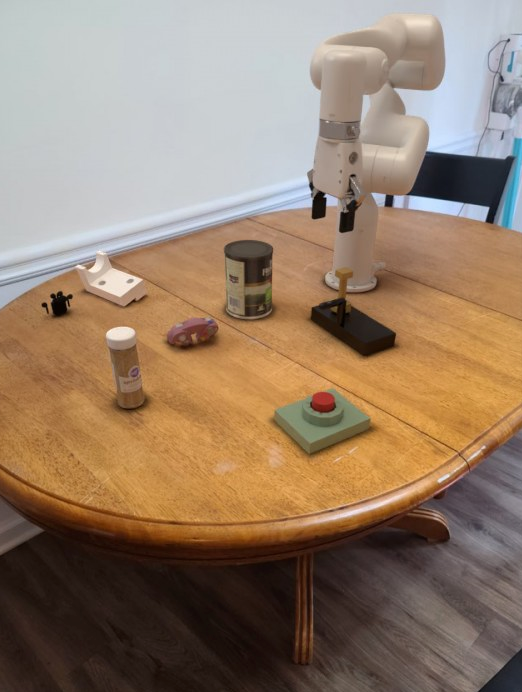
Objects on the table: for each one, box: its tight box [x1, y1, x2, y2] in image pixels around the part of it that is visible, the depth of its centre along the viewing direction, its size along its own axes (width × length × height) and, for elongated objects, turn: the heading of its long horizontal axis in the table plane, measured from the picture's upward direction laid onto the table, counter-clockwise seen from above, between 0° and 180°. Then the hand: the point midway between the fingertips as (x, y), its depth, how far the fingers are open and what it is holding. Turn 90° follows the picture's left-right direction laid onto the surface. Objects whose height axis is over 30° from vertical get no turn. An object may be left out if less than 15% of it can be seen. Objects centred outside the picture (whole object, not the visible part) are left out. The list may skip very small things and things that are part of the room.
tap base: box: [310, 297, 397, 357], centre depth 115 cm, size 13×18×9 cm
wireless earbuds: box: [41, 290, 74, 316], centre depth 120 cm, size 7×2×5 cm, turn 136°
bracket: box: [75, 250, 149, 307], centre depth 128 cm, size 13×7×8 cm, turn 54°
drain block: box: [273, 388, 372, 455], centre depth 91 cm, size 12×10×4 cm
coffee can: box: [223, 239, 274, 320], centre depth 121 cm, size 10×10×14 cm
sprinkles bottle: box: [105, 326, 146, 410], centre depth 92 cm, size 5×5×13 cm
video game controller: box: [166, 316, 219, 346], centre depth 111 cm, size 10×5×7 cm, turn 117°
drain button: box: [312, 391, 335, 413], centre depth 90 cm, size 4×4×2 cm
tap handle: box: [331, 267, 353, 313], centre depth 116 cm, size 3×3×9 cm
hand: (331, 224), depth 112 cm, fingers open, 8 cm apart
